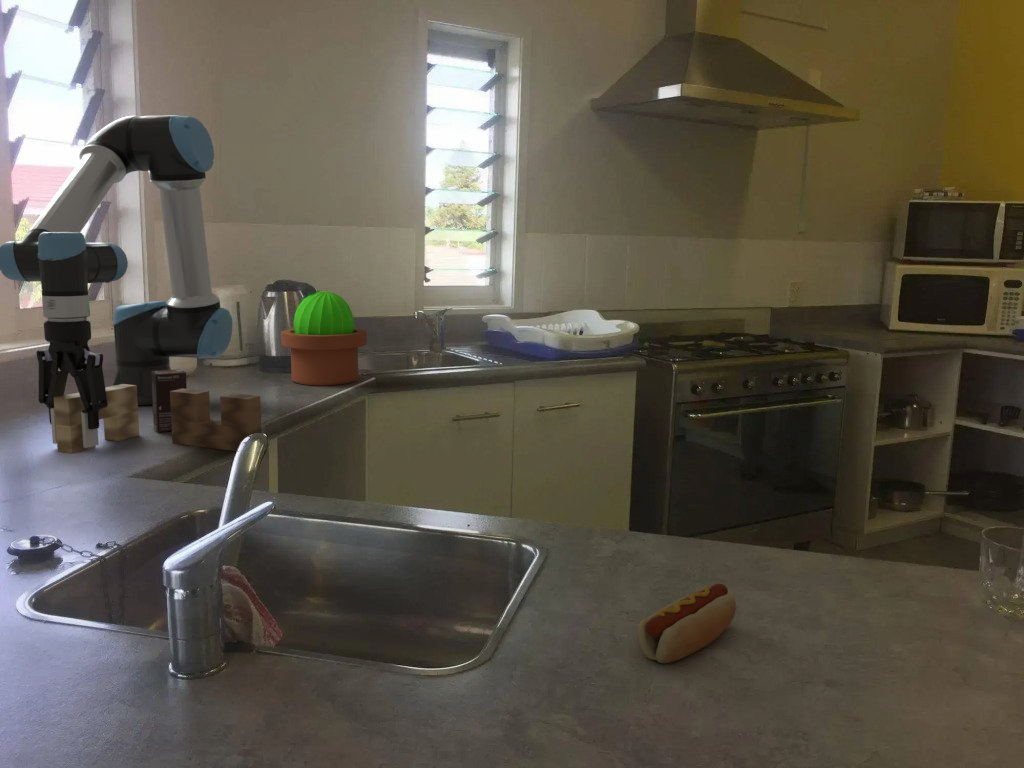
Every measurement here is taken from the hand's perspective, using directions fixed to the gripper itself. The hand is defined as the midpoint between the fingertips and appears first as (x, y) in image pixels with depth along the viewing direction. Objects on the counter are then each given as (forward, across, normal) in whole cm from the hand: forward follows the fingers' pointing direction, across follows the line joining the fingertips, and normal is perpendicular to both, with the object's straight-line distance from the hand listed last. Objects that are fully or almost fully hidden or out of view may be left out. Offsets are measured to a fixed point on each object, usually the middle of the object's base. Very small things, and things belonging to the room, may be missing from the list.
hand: (75, 443), depth 161 cm
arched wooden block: (+1, 0, +6) cm, 6 cm away
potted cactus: (+1, -3, +84) cm, 85 cm away
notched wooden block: (+1, +21, +13) cm, 25 cm away
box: (+1, +4, +20) cm, 20 cm away
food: (+2, +118, -32) cm, 123 cm away
